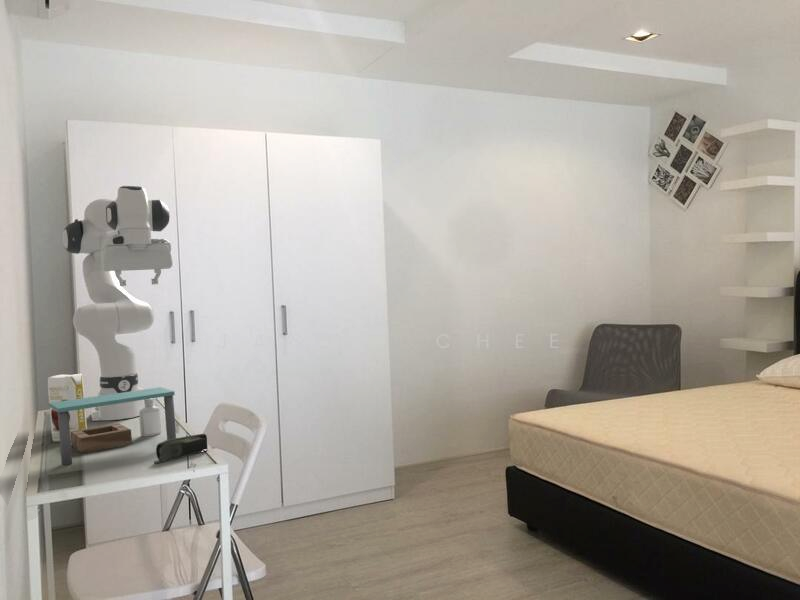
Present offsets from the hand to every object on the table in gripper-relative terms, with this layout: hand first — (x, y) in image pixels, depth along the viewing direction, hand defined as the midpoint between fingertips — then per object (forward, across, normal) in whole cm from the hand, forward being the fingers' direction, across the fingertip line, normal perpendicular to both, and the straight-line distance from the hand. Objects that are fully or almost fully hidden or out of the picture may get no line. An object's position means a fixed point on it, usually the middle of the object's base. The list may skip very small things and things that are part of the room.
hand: (139, 285), depth 208 cm
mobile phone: (+45, +4, +40) cm, 60 cm away
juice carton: (+44, +21, -8) cm, 50 cm away
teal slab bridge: (+44, +15, +19) cm, 50 cm away
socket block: (+44, +16, +8) cm, 47 cm away
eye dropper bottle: (+44, +2, +7) cm, 45 cm away
